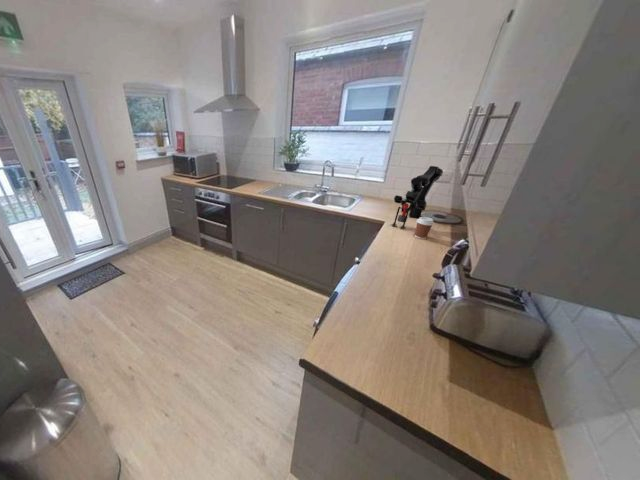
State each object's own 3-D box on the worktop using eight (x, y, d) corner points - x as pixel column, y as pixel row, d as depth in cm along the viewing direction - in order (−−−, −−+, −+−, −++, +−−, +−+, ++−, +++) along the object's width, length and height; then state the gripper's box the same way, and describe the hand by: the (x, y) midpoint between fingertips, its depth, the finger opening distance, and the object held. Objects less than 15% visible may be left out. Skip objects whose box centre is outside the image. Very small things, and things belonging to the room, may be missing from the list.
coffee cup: (419, 232, 165) (425, 215, 159) (432, 238, 157) (439, 220, 152) (408, 234, 162) (414, 217, 157) (421, 240, 155) (427, 222, 149)
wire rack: (393, 225, 176) (398, 206, 170) (404, 228, 171) (410, 209, 164) (391, 225, 175) (397, 206, 168) (403, 229, 170) (409, 209, 163)
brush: (399, 219, 176) (404, 202, 171) (407, 221, 173) (412, 203, 167) (395, 221, 172) (400, 203, 167) (403, 223, 169) (409, 205, 163)
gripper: (398, 183, 171) (387, 202, 170) (430, 189, 158) (418, 209, 157) (400, 192, 179) (389, 211, 178) (430, 198, 166) (419, 218, 165)
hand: (403, 212), depth 169 cm, fingers closed on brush, 2 cm apart
